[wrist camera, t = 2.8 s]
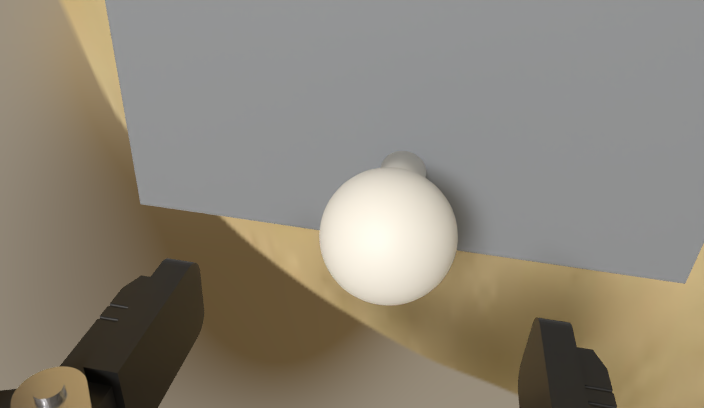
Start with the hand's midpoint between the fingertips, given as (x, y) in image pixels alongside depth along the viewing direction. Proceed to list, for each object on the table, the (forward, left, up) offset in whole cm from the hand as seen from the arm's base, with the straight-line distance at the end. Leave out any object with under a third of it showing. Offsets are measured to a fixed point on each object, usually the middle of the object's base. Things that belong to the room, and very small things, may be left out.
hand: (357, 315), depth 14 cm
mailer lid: (0, -6, -9) cm, 10 cm away
